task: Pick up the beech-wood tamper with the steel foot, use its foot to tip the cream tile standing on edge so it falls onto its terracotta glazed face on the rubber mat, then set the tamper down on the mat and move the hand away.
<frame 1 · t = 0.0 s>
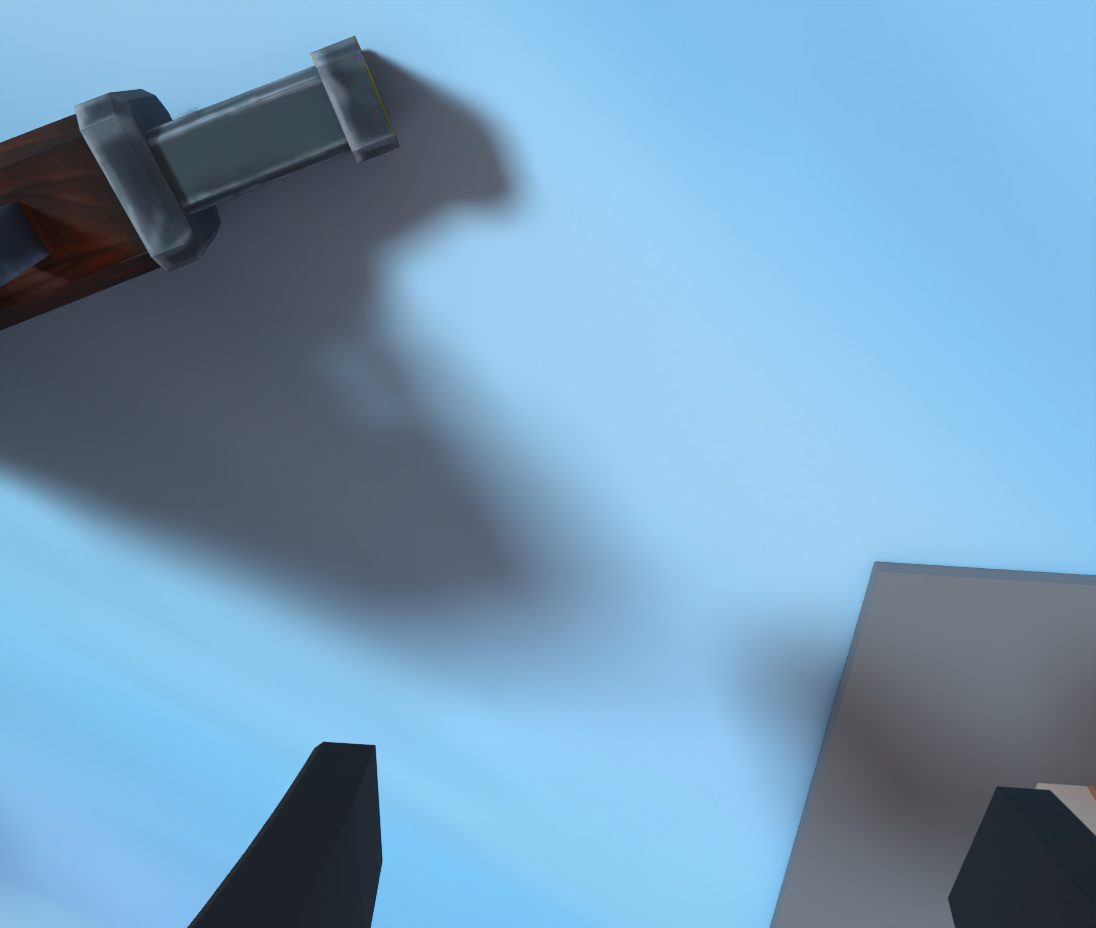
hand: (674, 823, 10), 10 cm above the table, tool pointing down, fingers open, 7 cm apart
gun: (51, 210, 18), on the table
tile: (1024, 869, 25), resting on mat
mat: (1070, 860, 25), on the table
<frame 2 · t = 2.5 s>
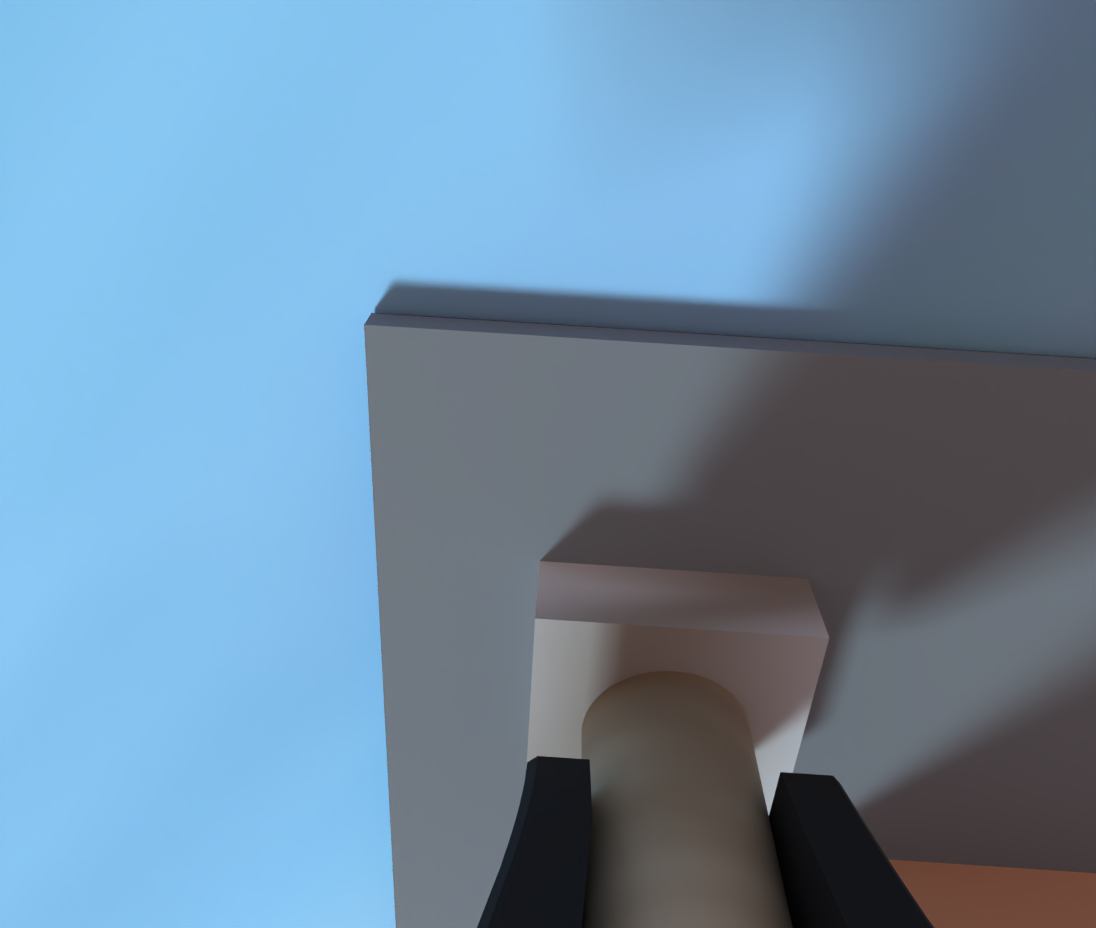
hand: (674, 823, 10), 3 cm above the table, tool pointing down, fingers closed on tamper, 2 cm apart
tamper: (658, 671, 13), resting on mat, touching gripper
tile: (982, 895, 15), resting on mat
mat: (999, 815, 14), on the table
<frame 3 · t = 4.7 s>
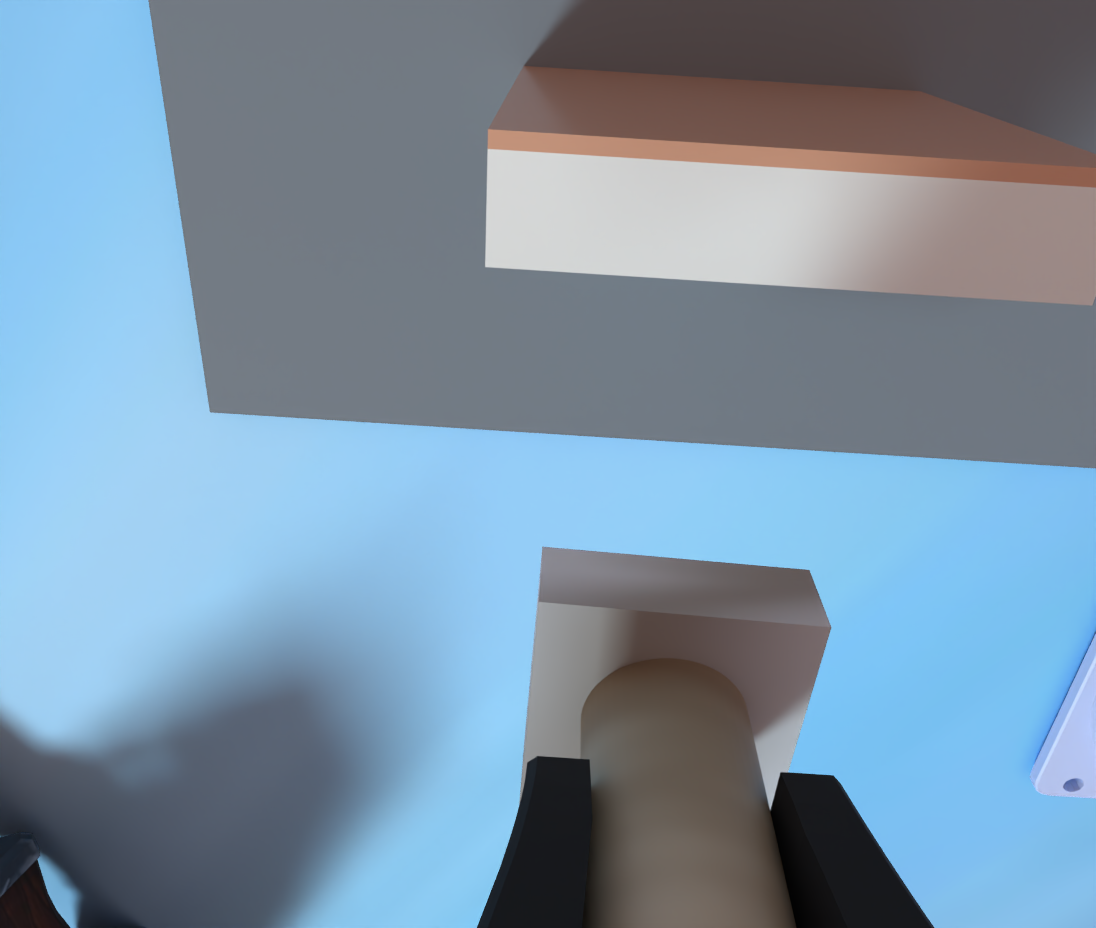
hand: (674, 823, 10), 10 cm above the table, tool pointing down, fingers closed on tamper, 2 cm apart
tamper: (657, 661, 13), point 8 cm above the table, touching gripper
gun: (76, 887, 28), on the table
tile: (715, 123, 16), resting on mat
mat: (725, 29, 15), on the table
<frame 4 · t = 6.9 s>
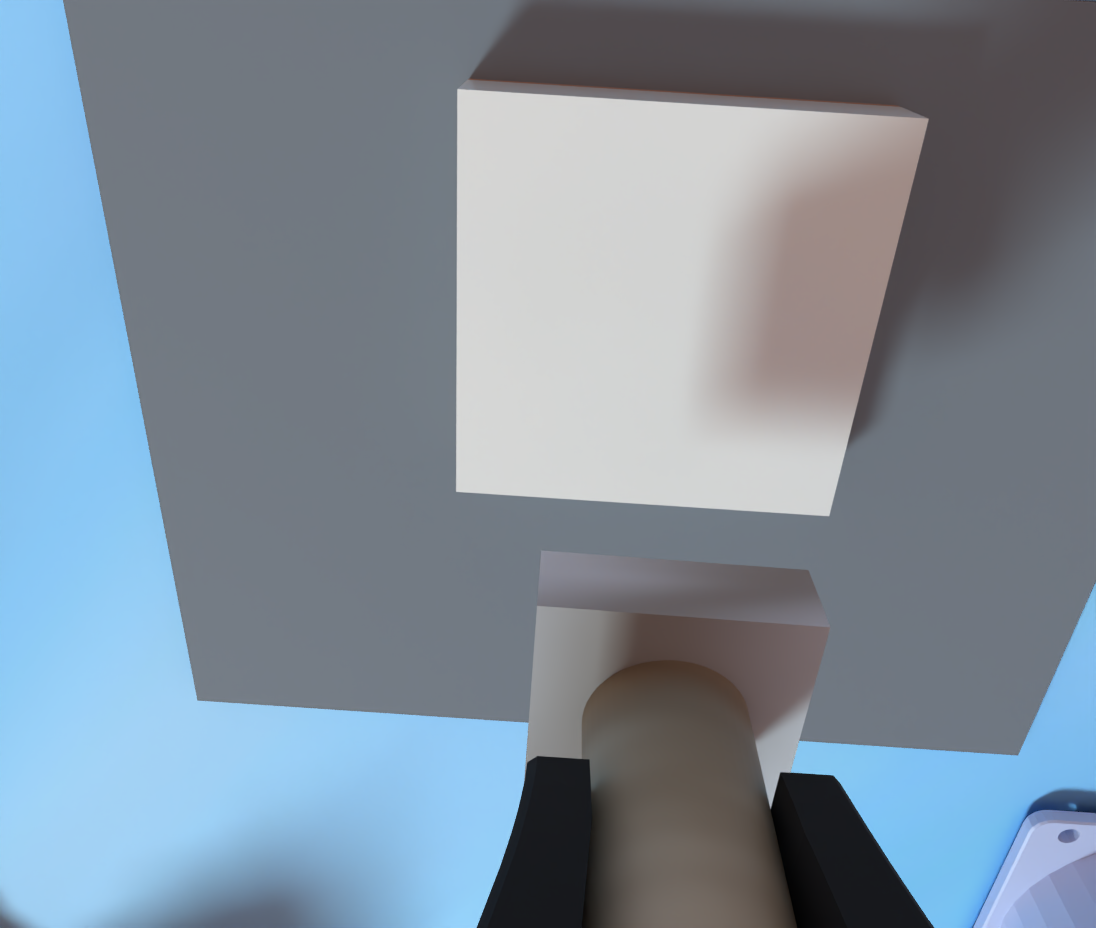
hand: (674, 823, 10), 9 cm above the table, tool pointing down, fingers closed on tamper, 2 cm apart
tamper: (658, 662, 13), point 6 cm above the table, touching gripper
tile: (640, 483, 17), point 1 cm above the table, tilted 90°, touching mat
mat: (640, 427, 18), on the table
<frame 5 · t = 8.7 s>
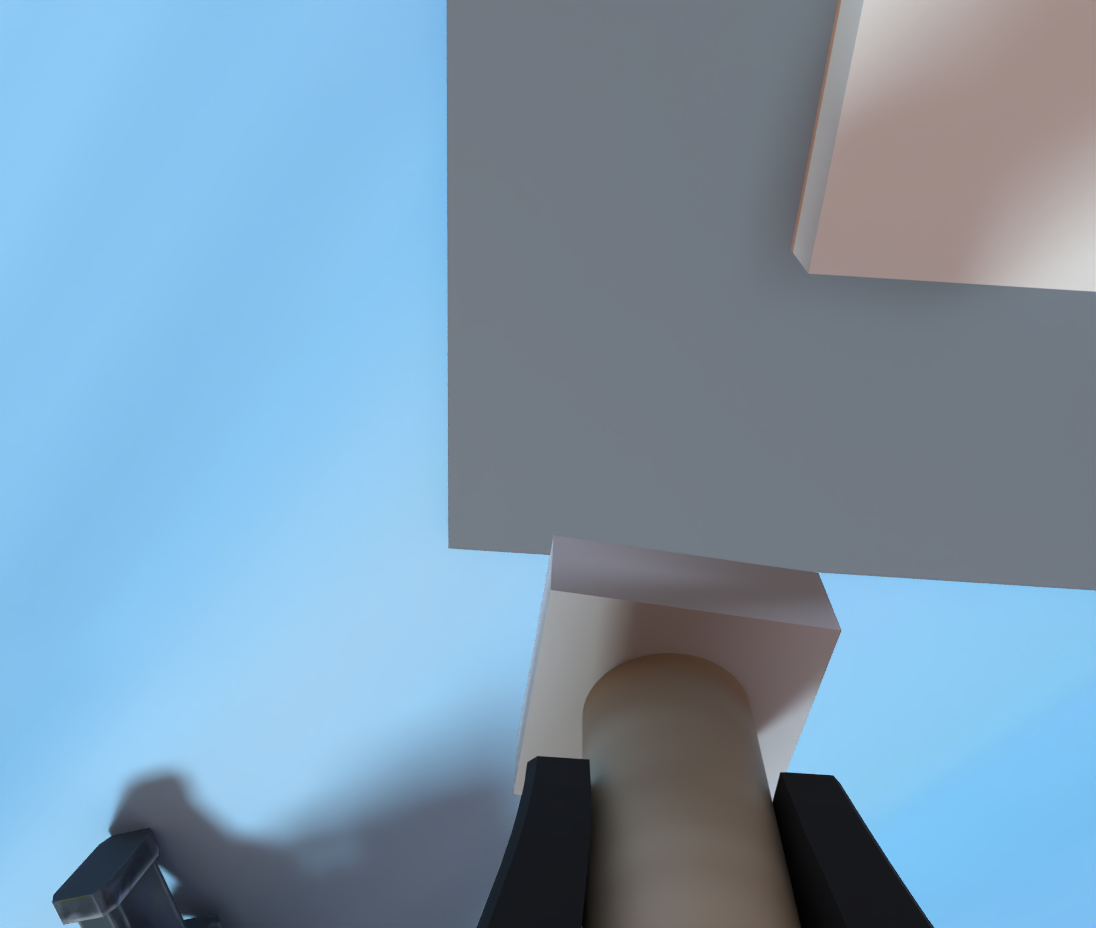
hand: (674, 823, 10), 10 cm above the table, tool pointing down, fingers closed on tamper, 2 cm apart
tamper: (659, 656, 13), point 7 cm above the table, touching gripper
tile: (992, 273, 16), point 1 cm above the table, tilted 90°, touching mat
mat: (978, 221, 17), on the table
when the fingers open (4 cm above the table, at t = 10.0 s): tamper stays where it is, resting on mat.
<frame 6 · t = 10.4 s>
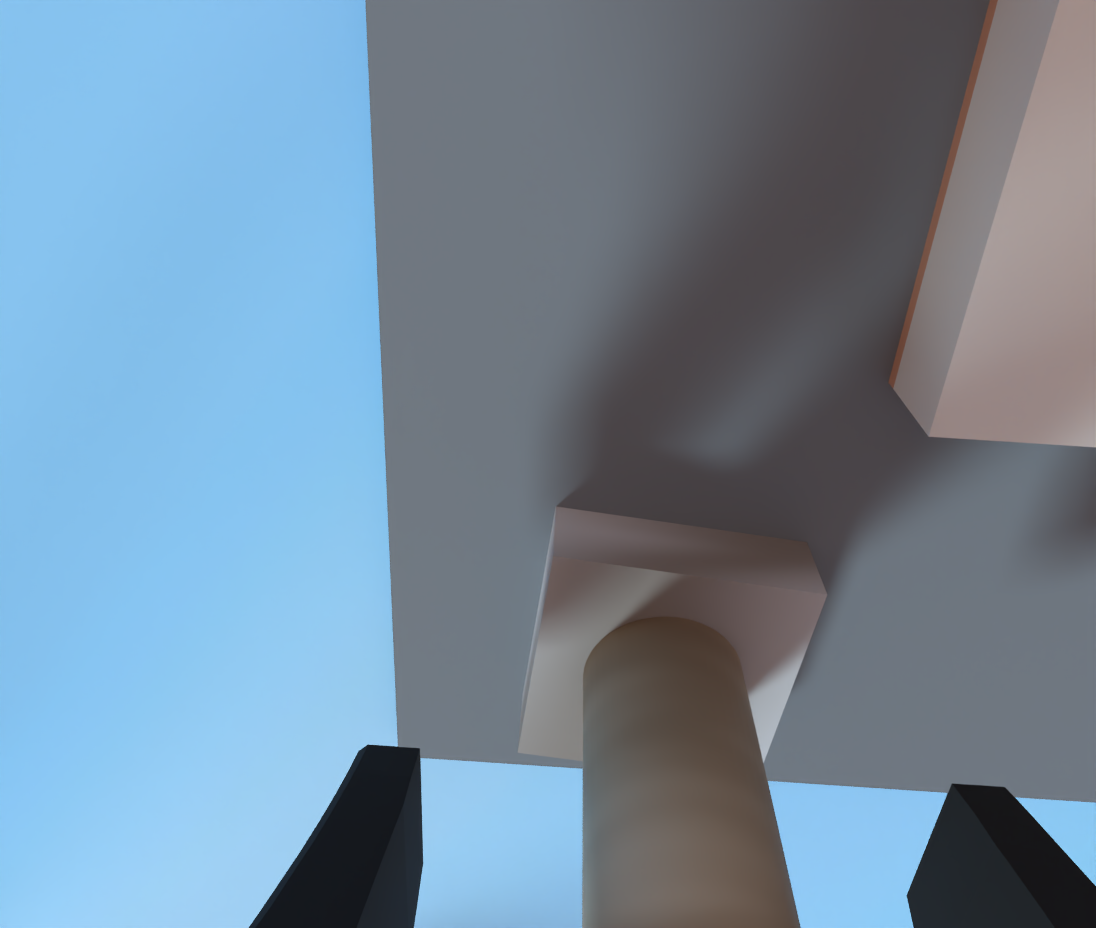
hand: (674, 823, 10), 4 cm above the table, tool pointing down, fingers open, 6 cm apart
tamper: (656, 623, 13), resting on mat
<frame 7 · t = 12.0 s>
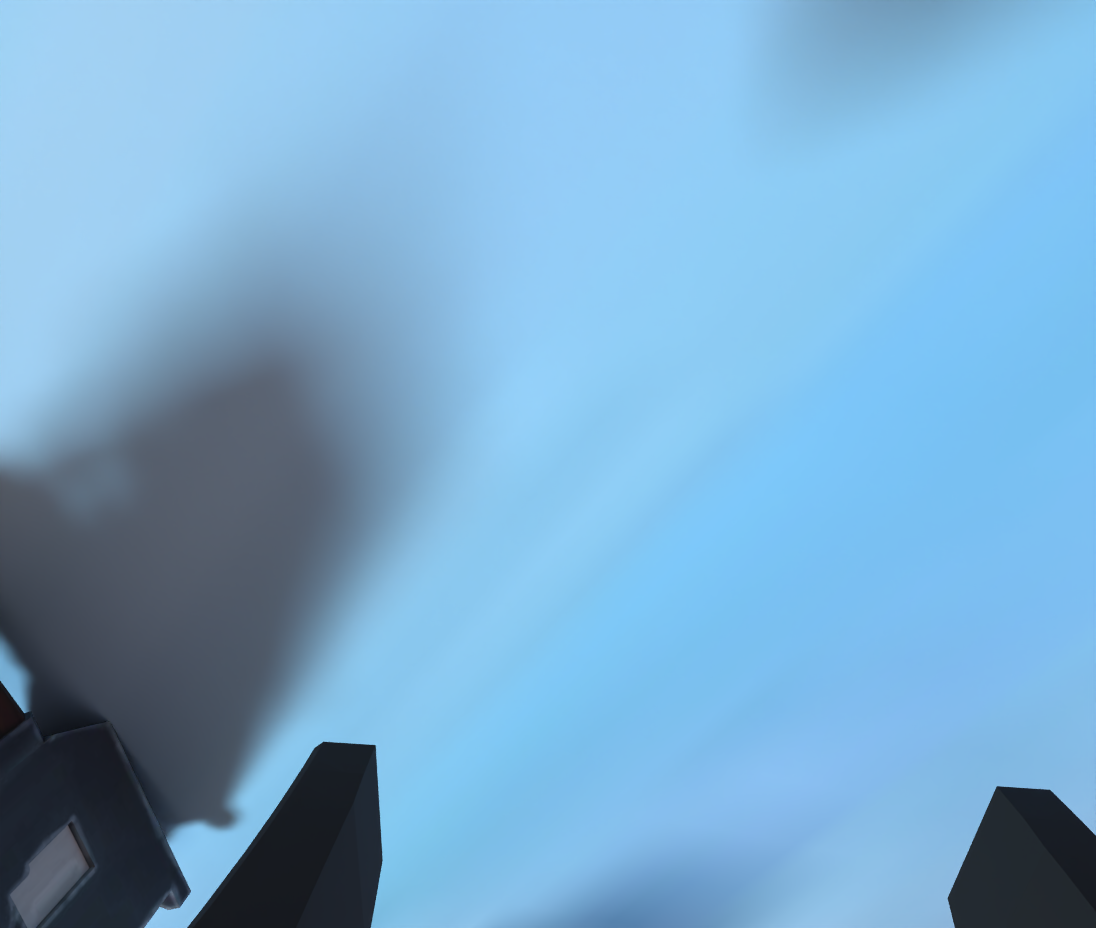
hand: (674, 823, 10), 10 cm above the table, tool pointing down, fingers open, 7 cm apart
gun: (26, 668, 24), on the table
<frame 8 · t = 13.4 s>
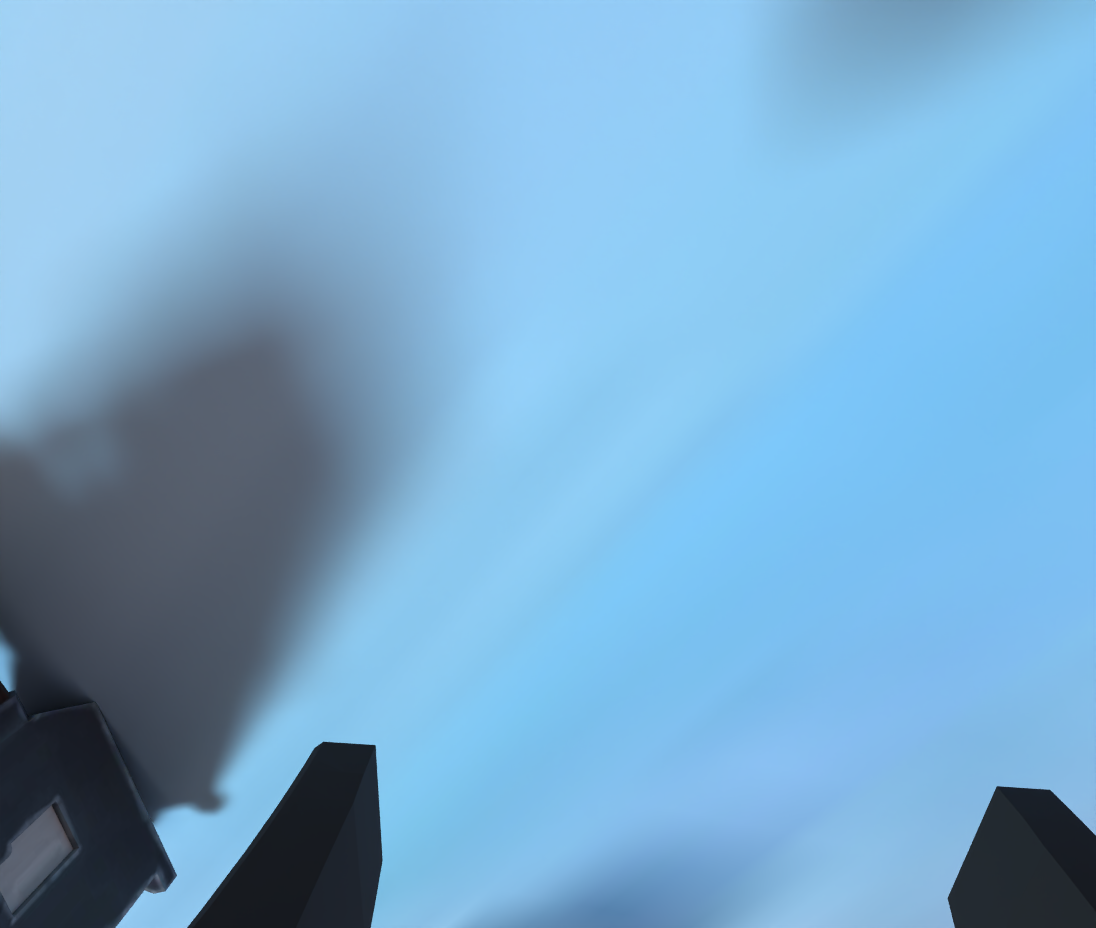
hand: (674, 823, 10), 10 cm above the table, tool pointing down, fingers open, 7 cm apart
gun: (11, 647, 24), on the table
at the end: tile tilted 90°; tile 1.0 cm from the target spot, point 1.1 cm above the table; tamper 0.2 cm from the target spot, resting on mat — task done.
